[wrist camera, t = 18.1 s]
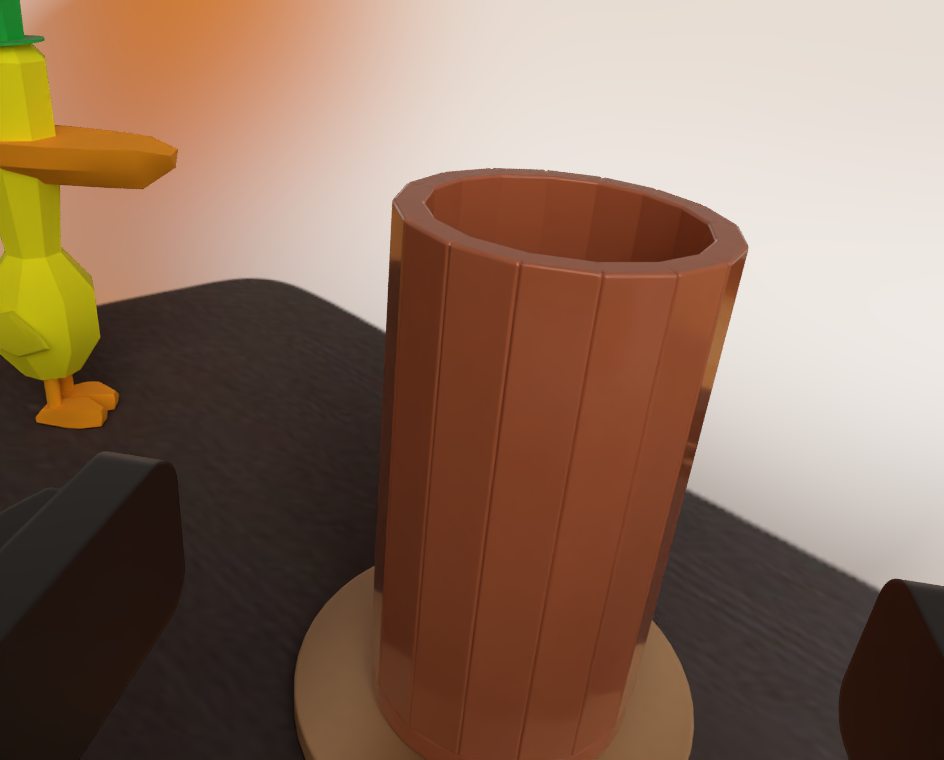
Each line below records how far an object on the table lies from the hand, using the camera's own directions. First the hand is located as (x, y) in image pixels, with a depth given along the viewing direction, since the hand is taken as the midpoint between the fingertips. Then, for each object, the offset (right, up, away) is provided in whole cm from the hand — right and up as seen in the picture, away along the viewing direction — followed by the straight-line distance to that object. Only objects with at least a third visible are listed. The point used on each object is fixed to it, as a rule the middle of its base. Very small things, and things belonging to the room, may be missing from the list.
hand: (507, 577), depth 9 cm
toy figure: (-13, +1, +17) cm, 21 cm away
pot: (0, -4, +8) cm, 9 cm away
